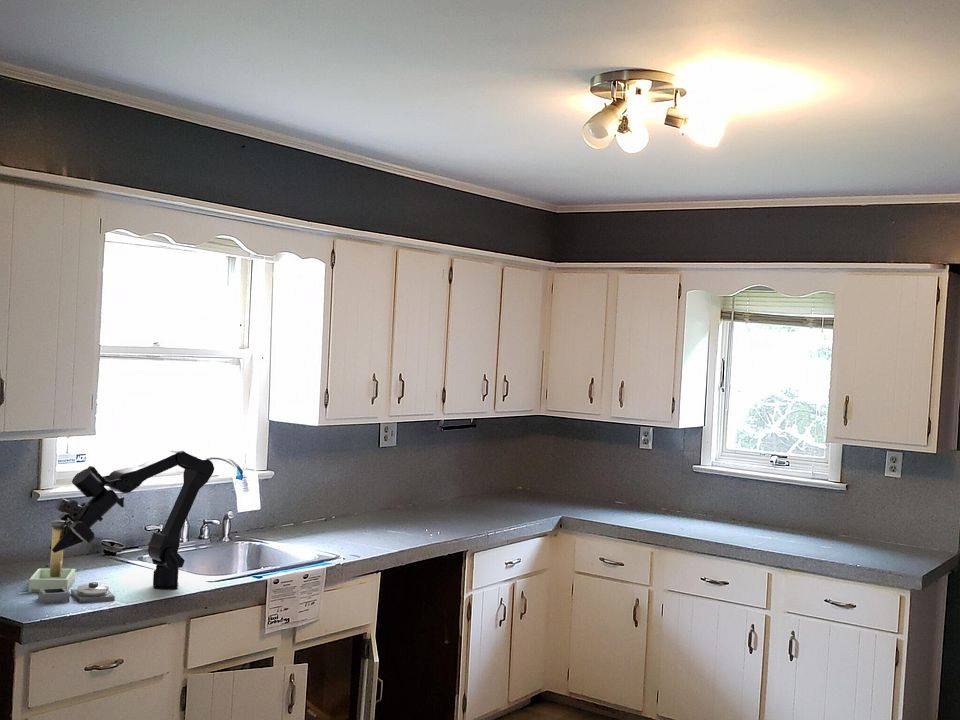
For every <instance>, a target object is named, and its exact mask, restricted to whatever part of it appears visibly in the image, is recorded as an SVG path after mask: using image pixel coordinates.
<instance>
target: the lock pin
mask: <svg viewBox="0 0 960 720" xmlns="http://www.w3.org/2000/svg"><path fill="white" fill-rule="evenodd" d="M66 525H67V521H64V520H61V519H56V520H55V519H54V520H51V521H50V527H51V529H52V531H51V544H52V545H51V544H50V545H51V549H50V563H49V564H50V565H49V569H50V577H61V576H62V569H63V562H64V560H63V559H64V549H63V550H60V551H58V552H55V553H54V552H53V551H52V549H53V548H54V546H55V545H56V544H57V542H58V541H59V540H60V539H61V538H62V536H63V535H64V528H65V526H66Z"/></svg>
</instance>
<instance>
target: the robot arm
mask: <svg viewBox="0 0 960 720" xmlns="http://www.w3.org/2000/svg"><path fill="white" fill-rule="evenodd" d="M177 466H178V467H180V468H182V469H183V477H182V478H183V483H182V487H181V489H180V491H179V494H178V496H177V498H176V500H175V502H174V505H173V506H172V508H171V511H170V513H169V516H168V518H167V520H166V522H165V524H164V527H163V528H162V530H161V531H159V532H155V531H154V532H153V533H152V535H151V538H150V541H148V544H147V546H148V547H147V553H148V556H149V558H150V559H151V561H152V562H151V563H152V564H153V565H155V566H156V567H155V569H154V570H153V575H152V586H153V589H154V588H155V589H154V590H156V589H157V590H159V589H161V590H162V589H163V590H165V589H166V590H177V589H178V587H179V570H180V569H179V568H183V566H184V563H185V559H184V558H183V557H182V556H181V555H180V554H179V553H178V552H179V548H180V535H181V531H182V530H183V527H184V525H185V523H186V521H187V519H188V516H189V513H190V512H191V509H192V507H193V504H194V502H195V500H196V497H197V495H198V493H199V492H200V489H201V488H203V487H204V486H205V485H206V484H207V483H209V480H210V478H211V477H212V475H213V474H214V471H215V466H214V463H213V461H212V460H210V459H208V458H207V459H206V458H203V457H202V458H201V457H197V456H194V455H192V454H189V453H187V452H186V451H185V450H180V449H175V448H174V449H172V450H170V451H169V452H167V453H165V454H163V455H159V456H158V457H156V458H153V459H151V460H149V461H147V462H146V461H145V462H144V463H142V464H140V465H137V466H133V467H125V468H121V469H116V470H113V471H112V472H110V473H109V475H103V476H102V475H101V474H100V472H99V471H98V470H97V469H96V468H95V467H94V466H92V465H89V466H87V468H84V469H83V470H81V471H80V472H77V473H76V474H75V476H73V478H72V480H71V483H72V484H73V486H74V487H75V488H77V490H78V491H79V492H80V493H81V494H83V495H84V496H85V498H90V497H91V498H90V499H89V500H88V501H87V502H81V503H80V504H79V502H78V500H77V501H76V500H74V499H73V498H71V499H70V500H68V499H65V498H64V497H60V498H59V500H58V503H57V504H56V505H55V507H54V508H55V509H57V511H59V512H61V514H60V515H59V516H58V519H59V520H64V521H67V525H66V526H65V528H64V535H63V536H62V538H61V539H60V540H59V541H58V542H57V544H56V545H55V546H54V548H53V549H52V551H53V552H54V553H55V552H58V551H60V550H63V551H64V550H65V549H67V548H70V547H72V546H76V545H78V544H80V543H84V540H85V542H86V543H88V544H90V543H91V542H92V541H93V540H94V539H95V533H94V532H93V530H92V529H91V528H93V526H95V525H96V523H98V522H100V523H101V522H102V521H103V520H104V518H103V517H104V516H105V515H106V514H107V513H108V512H109V511H110V510H111V509H112V508H113V507H114V506H115V505H118V506H119V507H120V508H124V507H125V502H124V501H125V497H124V496H122V495H118V494H117V493H116V492H119V493H122V494H128V493H131V492H133V491H134V490H136V489H138V487H140V486H141V485H142V484H143V482H145V481H146V480H148V479H150V478H152V477H155V476H157V475H158V474H159V475H160V474H161V473H164V472H165V471H168V470H170V469H172V468H174V467H177ZM106 487H108V488H109V489H107V488H106ZM83 539H84V540H83ZM51 545H52V543H51V544H50V545H49V549H50V550H51Z"/></svg>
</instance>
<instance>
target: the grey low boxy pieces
mask: <svg viewBox="0 0 960 720" xmlns="http://www.w3.org/2000/svg"><path fill="white" fill-rule="evenodd" d="M37 593H38V595H37V596H38V597H37V598H38V600H39V601H40V603H42V604H43V605H47V604H60V603H70V596H72V597H73V598H74V599H75V600H76V601H77V602H78V603H79V604H85V603H97V602H99V603H100V602H109V601H110V602H111V601H115V597H116V596H115V595H114V594H113V593H112V592H111V591H110V590H109V585H108V584H103V583H98V582H94V581H93V582H88V583H86V584H85V583H84V584H80V585H78V586H77V587H76V589H73V588H72V589H71V590H70V591H69V590H67V589H66V588H65V587H61V588H46V589H39V592H37Z"/></svg>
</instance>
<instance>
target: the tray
mask: <svg viewBox="0 0 960 720" xmlns="http://www.w3.org/2000/svg"><path fill="white" fill-rule="evenodd" d="M75 580H76V568H62V576H61V577H50V568H37V570H36V571H35V572H34V573H33V574H32V575H31V577H30V578H29V579H28V590H27V591H28V593H39V589H46V588H61V587H65V588H66V589H67V590H68V591H69V590H70V588H71V587H72V586H73V584H74V583H75Z"/></svg>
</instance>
